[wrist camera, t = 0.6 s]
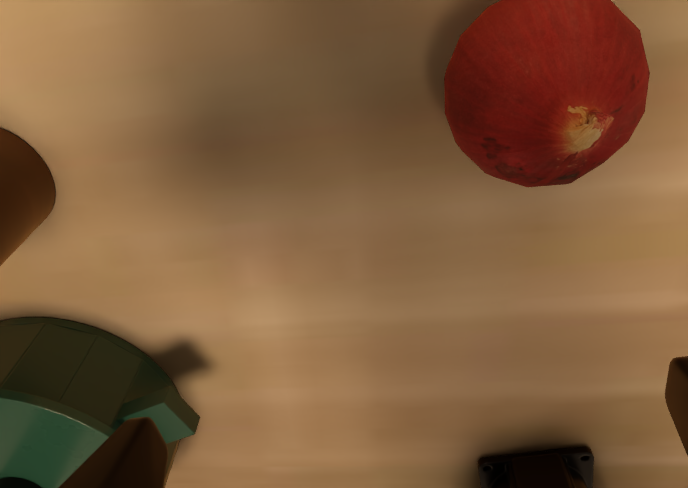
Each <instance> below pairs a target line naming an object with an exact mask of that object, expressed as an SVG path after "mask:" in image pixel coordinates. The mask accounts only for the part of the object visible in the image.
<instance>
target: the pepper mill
mask: <svg viewBox="0 0 688 488" xmlns="http://www.w3.org/2000/svg"><path fill="white" fill-rule="evenodd" d="M54 201H55V187H54V182H53V179H52V176H51V174H50V172H49V170H48V168H47V166H46V165H45V163H44V161H43V160H42V159H41V158H40V156H39V155H38V154H37V153H36V152H35V151H34V150H33V149H32V148H31V147H30V146H29V145H28V144H27V143H25V142H24V141H23V140H21V139H20V138H18V137H17V136H15V135H13V134H12V133H10V132H8V131H6V130H4V129H1V128H0V266H1V265H2V264H3V263H4V262H5V261H6V259H7V258H8V257H9V256H10V255H11V254H12V253H13V252H14V251H15V250H16V249H17V248H18V247H19V246H20V245H21V244H22V243H23V242H24V241H25V240H26V239H27V237H28V236H29V235H30V234H31V233H32V232H33V231H34V230H35V229H36V228H37V227H38V226H39V225H40V224H41V223H42V222H43V221H44V220H45V219H46V218H47V216H48V215H49V214H50V212H51V210H52V208H53V205H54Z"/></svg>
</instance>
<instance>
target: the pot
mask: <svg viewBox="0 0 688 488" xmlns="http://www.w3.org/2000/svg"><path fill="white" fill-rule="evenodd" d="M0 389H6V390H12V391H17V392H23V393H28V394H31V395H35V396H39V397H43V398H47V399H50V400H53V401H55V402H58V403H61V404H64V405H67V406H70V407H72V408H74V409H76V410H79V411H81V412H83V413H86V414H88V415H90V416H92V417H93V418H95V419H97V420H99V421H101V422H103V423H105V424H106V425H108V426H109V427H111V428H112V429H114V430H115V431H116V430H117V429H118V428H119V427H120V426H121V425H122V424H123V423H124V422H125V421H126V420H128V419H131V418H140V417H149V418H151V419H152V420H153V421H154V423H155V425H156V426H157V428H158V430H159V432H160V434H161V435H162V437H163V439H164V441H165V442H166V445H167V448H168V461H167V467H166V474H165V480H164V488H165V485H166V482H167V479H168V476H169V473H170V470H171V467H172V464H173V460H174V457H175V454H176V451H177V448H178V444H179V440H180V439H182V438H185V437H188V436H191V435H194V434H195V432H196V429H197V426H198V422H199V419H200V417H199V415H198V414H197V413H196V412H195V411H194V410H193V409H192V408H191V407H190V406H189V405H188V404H187V403H186V402H185V401H184V400H183V399H182V398H181V397H180V396H179V394H178V391H177V389H176V387H175V386H174V384H173V383H172V381H171V380H170V378H169V377H168V376H167V375H166V373H165V372H164V371H163V370H162V369H161V368H160V367H159V366H158V365H157V364H156V363H155V362H154V361H153V360H152V359H151V358H149V357H148V356H147V355H145V354H144V353H143V352H141V351H140V350H139V349H137V348H136V347H134V346H132V345H131V344H129V343H127V342H126V341H124V340H122V339H120V338H118V337H116V336H114V335H112V334H110V333H107V332H105V331H102V330H100V329H97V328H94V327H91V326H88V325H84V324H81V323H77V322H73V321H67V320H62V319H55V318H45V317H26V318H16V319H9V320H5V321H1V322H0Z"/></svg>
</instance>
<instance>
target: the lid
mask: <svg viewBox="0 0 688 488" xmlns="http://www.w3.org/2000/svg"><path fill="white" fill-rule="evenodd" d="M114 432H115V430H114V429H112V428H111V427H109V426H108V425H106V424H105V423H103V422H101V421H99V420H97V419H95V418H93V417H92V416H90V415H88V414H86V413H83V412H81V411H79V410H76V409H74V408H72V407H70V406H67V405H64V404H61V403H58V402H55V401H53V400H50V399H47V398H43V397H39V396H35V395H31V394H28V393H23V392H17V391H12V390H6V389H0V488H58V487H59V486H60V485H61V484H62V483H63V482H64V481H65V480H66V479H67V478H68V477H69V476H70V475H71V474H72V473H73V472H74V471H75V470H76V469H77V468H78V467H79V466H80V465H81V464H82V463H83V462H84V461H85V460H86V459H87V458H88V457H89V456H90V455H91V454H92V453H94V452H95V451H96V450H97V449H98V448H99V447H100V446H101V445H102V444H103V443H104V442H105V441H106V440H107V439H108V438H109V437H110V436H111V435H112V434H113V433H114ZM163 488H164V486H163Z"/></svg>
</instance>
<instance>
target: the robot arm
mask: <svg viewBox="0 0 688 488" xmlns="http://www.w3.org/2000/svg"><path fill="white" fill-rule="evenodd" d="M665 399H666V403H667V407H668V409H669V412H670V414H671V417H672V419H673V421H674V424H675V426H676V429H677V431H678V434H679V436H680V438H681V441H682V443H683V446H684V448H685V451H686V453H687V455H688V356H685V357H676V358H673V359H672V361H671V362H670V365H669V371H668V377H667V383H666V389H665ZM167 461H168V448H167V445H166V442H165V441H164V439H163V437H162V435H161V434H160V432H159V430H158V428H157V426H156V425H155V423H154V421H153V420H152V419H151V418H149V417H140V418H131V419H128V420H126V421H125V422H124V423H123V424H122V425H121V426H120V427H119V428H118V429H117V430H116V431H115V432H114V433H113V434H112V435H111V436H110V437H109V438H108V439H107V440H106V441H105V442H104V443H103V444H102V445H101V446H100V447H99V448H98V449H97V450H96V451H95V452H94V453H92V454H91V455H90V456H89V457H88V458H87V459H86V460H85V461H84V462H83V463H82V464H81V465H80V466H79V467H78V468H77V469H76V470H75V471H74V472H73V473H72V474H71V475H70V476H69V477H68V478H67V479H66V480H65V481H64V482H63V483H62V484H61V485H60V486H59V487H58V488H163V486H164V480H165V474H166V467H167ZM593 465H594V456H593V454H592V451H591V449H590V448H588V447H577V448H568V449H559V450H549V451H540V452H531V453H522V454H513V455H504V456H495V457H486V458H482V459H480V460H479V461H478V471H479V478H480V485H481V488H593Z"/></svg>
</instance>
